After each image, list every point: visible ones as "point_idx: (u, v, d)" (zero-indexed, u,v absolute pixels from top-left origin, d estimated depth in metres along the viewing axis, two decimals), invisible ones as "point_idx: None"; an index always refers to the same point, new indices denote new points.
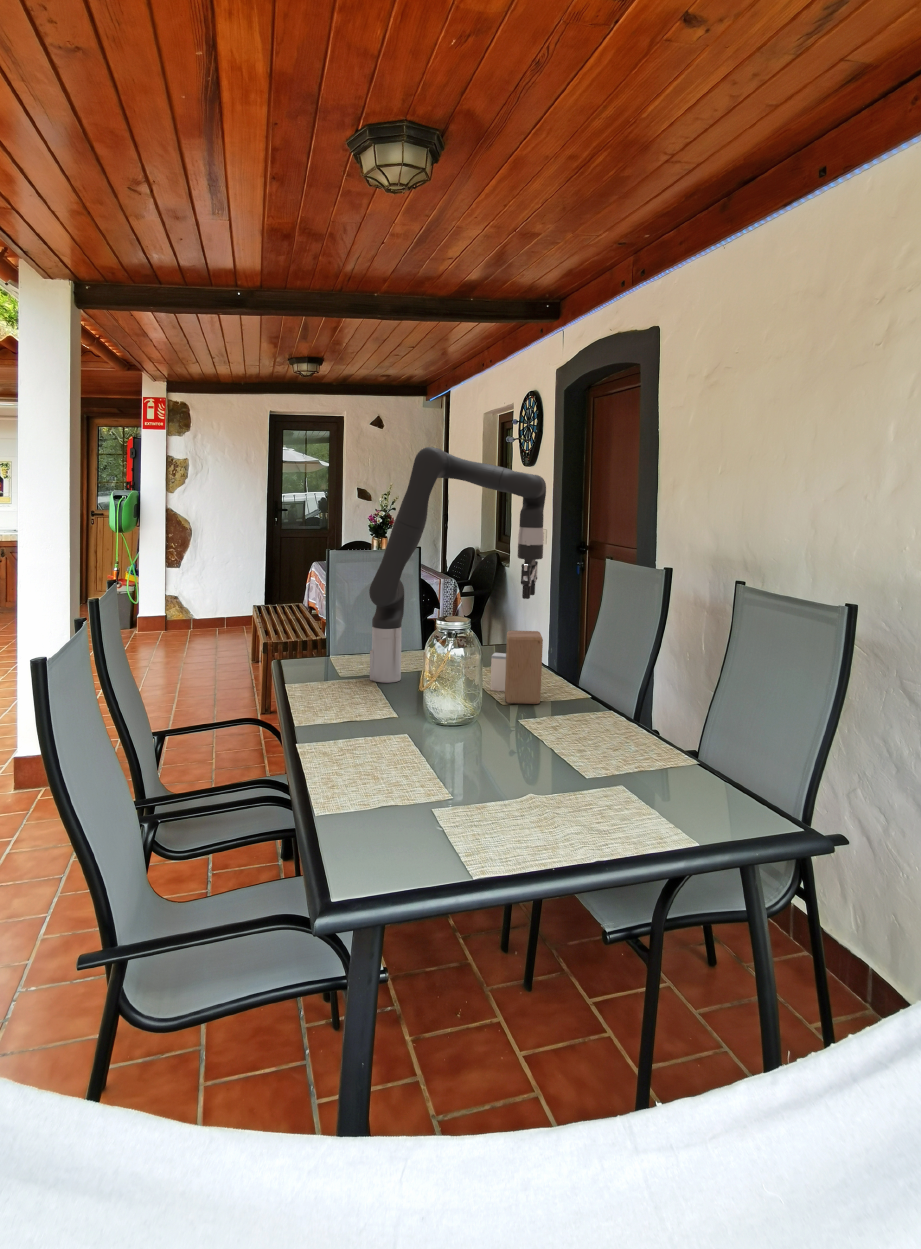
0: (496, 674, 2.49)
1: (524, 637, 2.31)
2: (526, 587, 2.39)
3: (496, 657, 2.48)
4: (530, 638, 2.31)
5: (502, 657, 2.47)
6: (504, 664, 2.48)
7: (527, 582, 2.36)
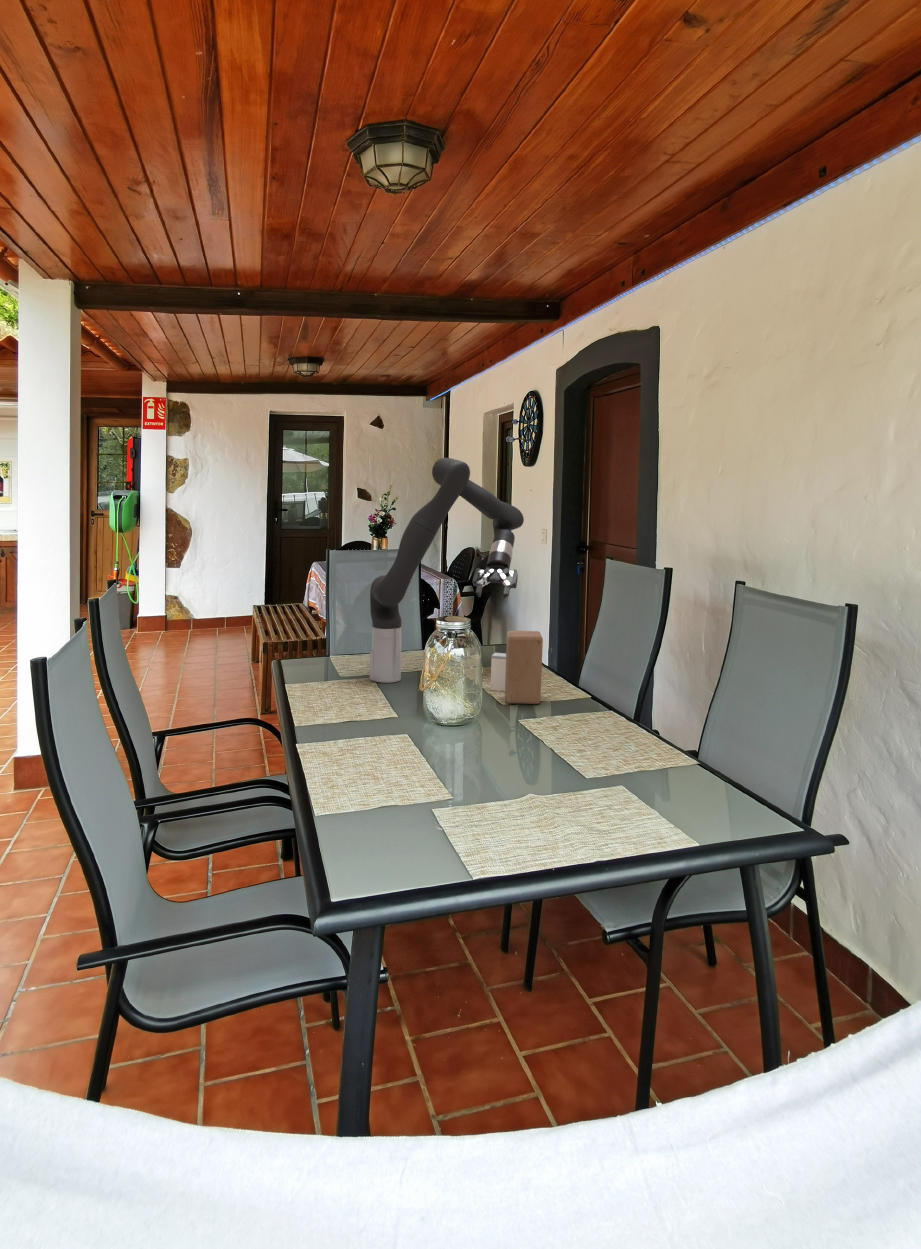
0: (496, 674, 2.49)
1: (524, 637, 2.31)
2: (509, 588, 2.61)
3: (496, 657, 2.48)
4: (530, 638, 2.31)
5: (502, 657, 2.48)
6: (504, 664, 2.48)
7: (516, 585, 2.62)
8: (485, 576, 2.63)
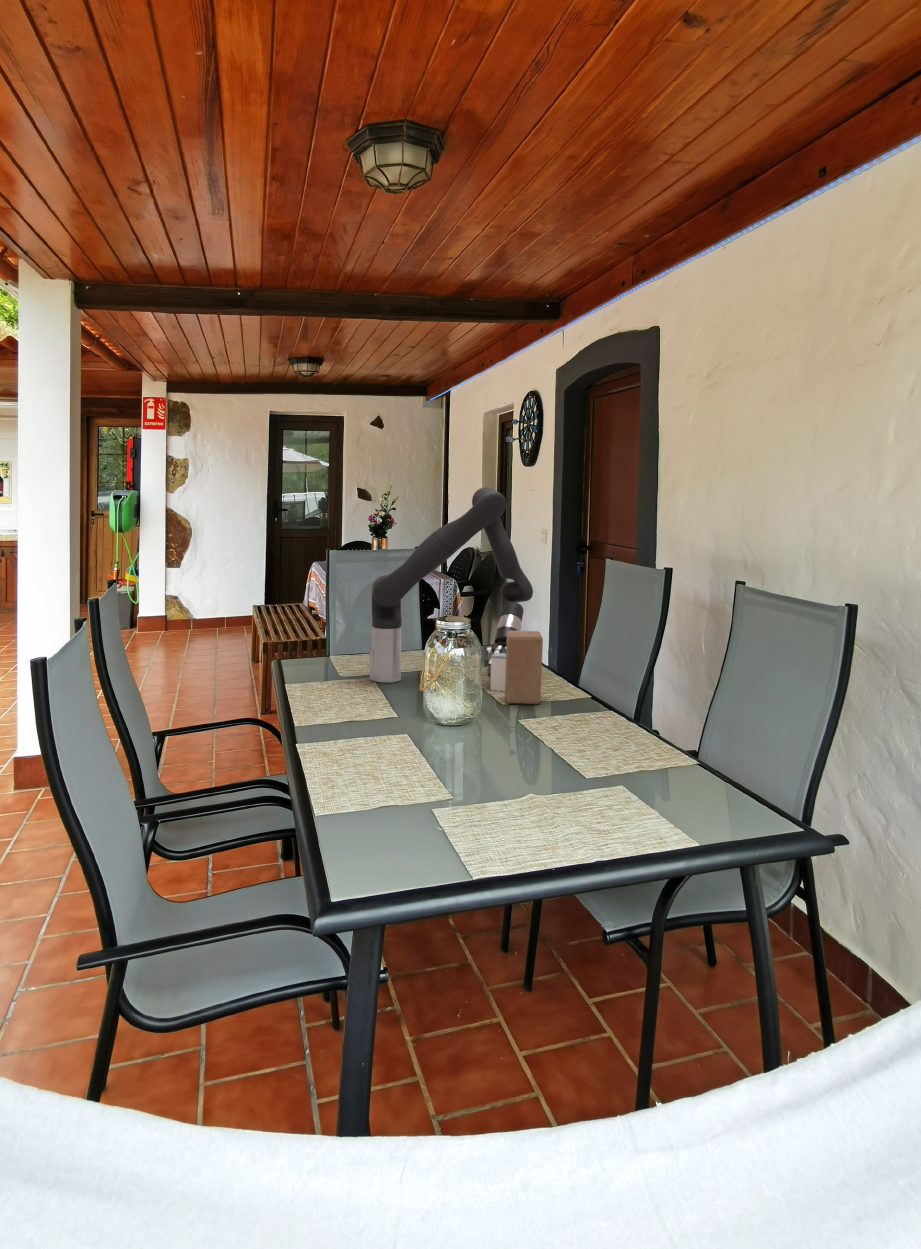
0: (496, 674, 2.49)
1: (524, 637, 2.31)
2: None
3: (496, 657, 2.48)
4: (530, 638, 2.31)
5: (502, 657, 2.47)
6: (504, 664, 2.48)
7: None
8: None
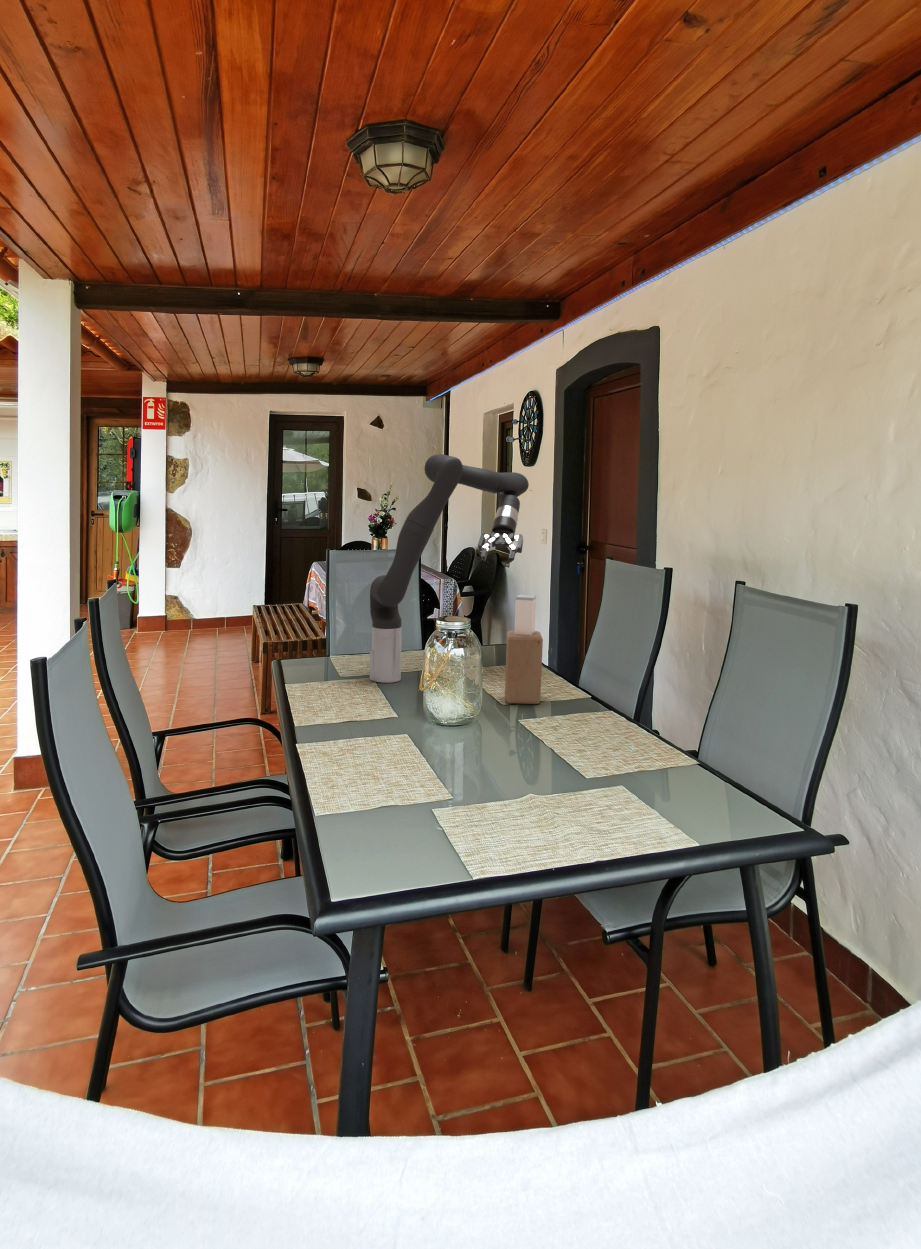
0: (521, 616, 2.33)
1: (524, 637, 2.31)
2: (514, 553, 2.59)
3: (521, 598, 2.32)
4: (530, 638, 2.31)
5: (527, 598, 2.32)
6: (529, 606, 2.32)
7: (521, 550, 2.60)
8: (490, 540, 2.62)
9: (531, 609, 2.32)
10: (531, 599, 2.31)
